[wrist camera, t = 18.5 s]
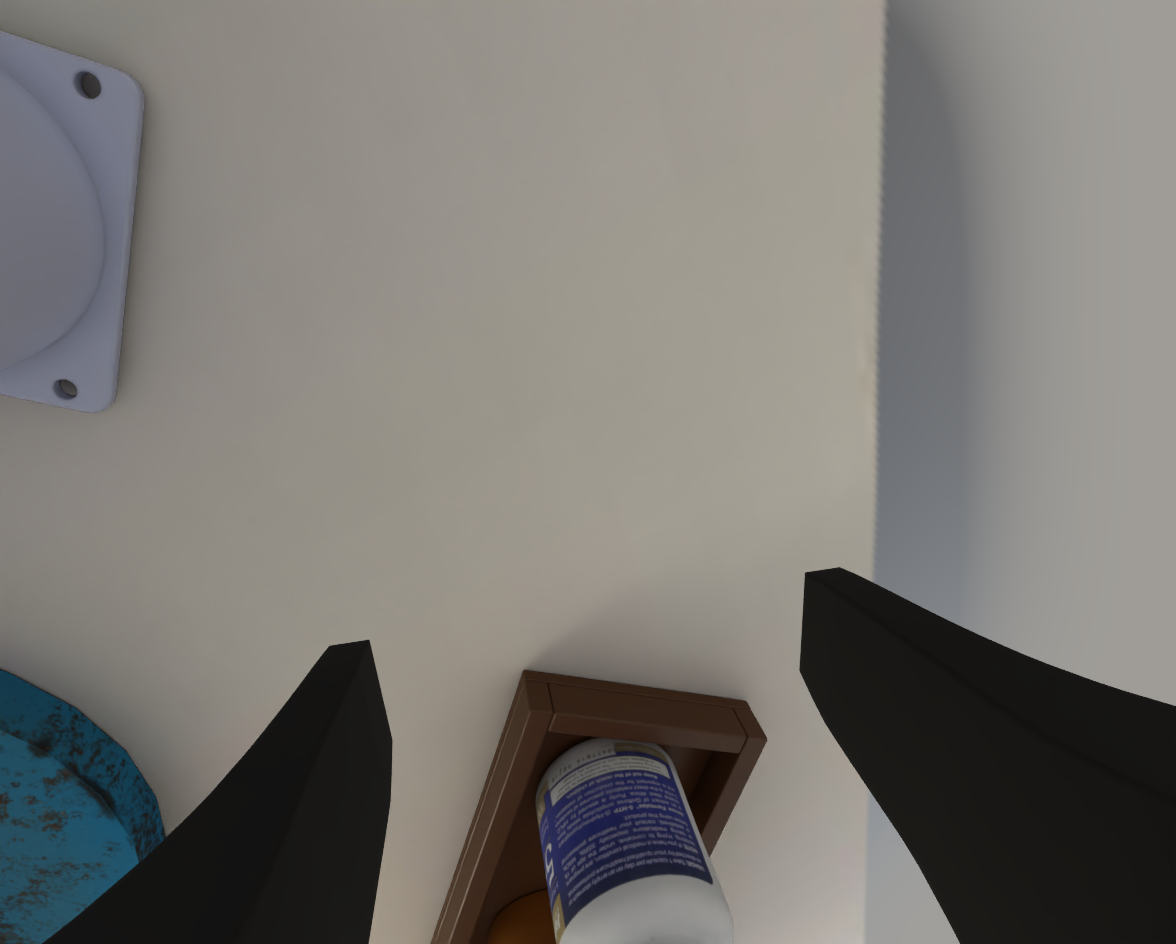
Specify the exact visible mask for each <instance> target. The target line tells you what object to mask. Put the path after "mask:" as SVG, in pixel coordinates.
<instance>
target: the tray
mask: <svg viewBox="0 0 1176 944" xmlns="http://www.w3.org/2000/svg"><path fill="white" fill-rule="evenodd" d="M596 737H601V738H609V739H618V740H627V741H635V742H644V743H653V744H657V745H658V746H659V747H661V748H662V749H663V750H664V751H665V752H666V753H667V754H668V756H669V757H670V759H671V760H672V762H673V764H674V767H675V769H676V772H677V774H678V777H679V780H680V782H681V785H682V788H683V790H684V793H685V796H686V799H687V802H688V804H689V807H690V810H691V812H692V815H693V817H694V820H695V823H696V825H697V828H698V831H699V833H700V836H701V838H702V841H703V844H704V846H705V849H706V851H707V854H708V856H709V857H710V855H711V853H712V851H713V849H714V847H715V845H716V843H717V841H718V839H719V837H720V835H721V833H722V831H723V829H724V827H725V825H726V823H727V821H728V819H729V817H730V815H731V813H732V811H733V809H734V807H735V805H736V803H737V801H738V799H739V797H740V795H741V793H742V790H743V788H744V786H745V784H746V782H747V780H748V778H749V776H750V774H751V772H752V770H753V768H754V766H755V764H756V762H757V760H758V758H759V756H760V754H761V752H762V750H763V748H764V746H765V744H766V742H767V737H766V735H765V734H764V732H763V730H762V728H761V726H760V725H759V723H758V721H757V719H756V718H755V716H754V714H753V712H752V711H751V709H750V707H749V705H748V703H747V702H746V701H742V700H735V699H728V698H721V697H714V696H707V695H700V694H692V693H685V692H678V691H671V690H664V689H657V688H649V687H642V686H635V685H628V684H621V683H614V682H607V681H599V680H592V679H585V678H578V677H571V676H564V675H557V674H549V673H542V672H535V671H528V670H524V671H523V673H522V676H521V679H520V682H519V685H518V688H517V691H516V694H515V697H514V700H513V703H512V706H511V709H510V712H509V715H508V717H507V720H506V723H505V726H504V729H503V732H502V735H501V738H500V741H499V744H498V747H497V750H496V753H495V756H494V759H493V762H492V765H491V768H490V771H489V773H488V776H487V779H486V782H485V785H484V788H483V791H482V794H481V797H480V800H479V803H478V806H477V809H476V812H475V815H474V818H473V821H472V824H471V827H470V829H469V832H468V835H467V838H466V841H465V844H464V847H463V850H462V853H461V856H460V859H459V862H458V865H457V868H456V871H455V874H454V877H453V880H452V883H451V885H450V888H449V891H448V894H447V897H446V900H445V903H444V906H443V909H442V912H441V915H440V918H439V921H438V924H437V927H436V930H435V933H434V936H433V939H432V941H431V944H487V935H488V931H489V928H490V926H491V924H492V922H493V921H494V919H495V918H496V916H497V915H498V914H499V913H500V912H501V911H502V910H503V909H504V908H505V907H506V906H508V905H509V904H511V903H512V902H514V901H515V900H517V899H519V898H521V897H523V896H525V895H528V894H530V893H533V892H537V891H540V890H545V889H548V886H547V880H546V873H545V866H544V859H543V852H542V846H541V840H540V833H539V827H538V820H537V812H536V792H537V788H538V785H539V783H540V780H541V778H542V776H543V775H544V773H545V772H546V770H547V769H548V767H549V766H550V765H551V764H552V763H553V762H554V761H555V760H556V759H557V758H558V757H559V756H560V755H562V754H563V753H564V752H566V751H567V750H569V749H570V748H572V747H574V746H576V745H577V744H579V743H582V742H584V741H587V740H589V739H592V738H596Z"/></svg>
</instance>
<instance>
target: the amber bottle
mask: <svg viewBox="0 0 1176 944" xmlns="http://www.w3.org/2000/svg"><path fill="white" fill-rule="evenodd" d="M487 944H556V938H555V931H554V925H553V919H552V912H551V906H550V899H549V893H548V889H545V890H540V891H537V892H533V893H530V894H528V895H525V896H523V897H521V898H519V899H517V900H515V901H514V902H512V903H511V904H509V905H508V906H506V907H505V908H504V909H503V910H502V911H501V912H500V913H499V914H498V915H497V916H496V918H495V919H494V921H493V922H492V924H491V926H490V928H489V931H488V935H487Z"/></svg>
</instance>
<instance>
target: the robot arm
mask: <svg viewBox="0 0 1176 944" xmlns="http://www.w3.org/2000/svg"><path fill="white" fill-rule="evenodd" d="M88 73H91V74H93V75H95V76H96V78H97V79H98V80H99V82H100V85H101V92H100V94H99V96H98V97H96V98H94V99H92V98H90V97H88V96H87V95H86V94H85V92H84V91H83V90H82V85H81V81H82V79H83V76H85V75H86V74H88ZM144 105H145V101H144V93H143V91H142V89H141V87H140V84H139V83H138V82H137V81H136V80H135V79H134V78H133V77H132V76H131V75H129V74H128V73H126V72H124V71H122V70H119V69H116V68H113V67H110V66H107V65H104V64H101V63H98V62H95V61H92V60H89V59H86V58H83V57H79V56H76V55H73V54H70V53H67V52H64V51H61V50H58V49H55V48H52V47H49V46H46V45H43V44H40V43H37V42H34V41H31V40H28V39H25V38H22V37H19V36H16V35H13V34H10V33H7V32H4V31H0V395H5V396H10V397H15V398H20V399H25V400H29V401H34V402H39V403H44V404H49V405H53V406H58V407H63V408H68V409H73V410H78V411H82V412H87V413H97V412H100V411H103V410H105V409H106V408H107V407H109V406H110V405H111V404H112V403H113V402H114V400H115V397H116V392H117V381H118V371H119V361H120V351H121V340H122V330H123V320H124V310H125V300H126V289H127V279H128V269H129V259H130V248H131V238H132V228H133V218H134V207H135V197H136V187H137V177H138V166H139V156H140V146H141V136H142V125H143V115H144ZM61 379H66V380H68V381H71V382H72V383H73V384H74V385H75V386H76V388H77V395H70V394H68V393H66V392H65V391H64V390H63V389H62V388H61V384H60V381H61ZM800 673H801V675H802V677H803V679H804V681H805V683H806V686H807V688H808V690H809V692H810V694H811V696H812V698H813V700H814V702H815V704H816V706H817V708H818V710H819V712H820V714H821V716H822V718H823V720H824V722H825V724H826V725H827V727H828V728H829V730H830V732H831V733H832V735H833V736H834V738H835V739H836V741H837V742H838V744H839V745H840V747H841V748H842V750H843V751H844V753H845V754H846V756H847V757H848V759H849V760H850V762H851V764H852V765H853V766H854V768H855V769H856V771H857V772H858V774H859V775H860V777H861V778H862V780H863V781H864V783H865V784H866V786H867V787H868V789H869V790H870V792H871V793H872V795H873V796H874V798H875V799H876V801H877V802H878V803H879V805H880V806H881V808H882V810H883V811H884V813H885V814H886V816H887V817H888V818H889V820H890V821H891V823H892V824H893V826H894V827H895V829H896V830H897V832H898V833H899V835H900V836H901V838H902V839H903V841H904V843H905V844H906V846H907V847H908V849H909V851H910V852H911V854H912V856H913V857H914V859H915V861H916V862H917V864H918V866H919V867H920V869H921V871H922V873H923V875H924V877H925V878H926V880H927V882H928V884H929V886H930V888H931V889H932V891H933V893H934V895H935V897H936V899H937V901H938V902H939V904H940V906H941V908H942V910H943V912H944V914H945V915H946V917H947V919H948V921H949V923H950V925H951V927H952V929H953V931H954V932H955V934H956V936H957V938H958V940H959V942H960V944H1176V706H1173V705H1170V704H1167V703H1163V702H1160V701H1157V700H1153V699H1150V698H1146V697H1143V696H1139V695H1136V694H1133V693H1129V692H1126V691H1123V690H1120V689H1117V688H1114V687H1111V686H1107V685H1105V684H1101V683H1098V682H1096V681H1093V680H1090V679H1087V678H1084V677H1082V676H1079V675H1076V674H1074V673H1071V672H1068V671H1065V670H1062V669H1060V668H1057V667H1054V666H1051V665H1049V664H1046V663H1044V662H1041V661H1039V660H1036V659H1034V658H1031V657H1029V656H1026V655H1024V654H1021V653H1019V652H1017V651H1014V650H1012V649H1010V648H1007V647H1005V646H1003V645H1001V644H998V643H996V642H994V641H992V640H989V639H987V638H985V637H982V636H980V635H978V634H976V633H974V632H972V631H969V630H967V629H965V628H963V627H961V626H958V625H957V624H955V623H953V622H950V621H948V620H946V619H944V618H942V617H940V616H938V615H936V614H934V613H932V612H930V611H928V610H926V609H924V608H922V607H920V606H918V605H916V604H914V603H912V602H910V601H908V600H906V599H904V598H902V597H900V596H898V595H896V594H895V593H893V592H891V591H888V590H887V589H885V588H882V587H881V586H879V585H877V584H875V583H873V582H871V581H869V580H867V579H865V578H862V577H860V576H858V575H856V574H854V573H852V572H849V571H847V570H845V569H842V568H840V567H838V568H832V569H825V570H819V571H812V572H806V573H805V585H804V602H803V620H802V637H801V654H800ZM391 777H392V736H391V732H390V728H389V723H388V719H387V715H386V710H385V706H384V702H383V697H382V693H381V688H380V684H379V680H378V675H377V671H376V667H375V662H374V658H373V654H372V649H371V645H370V641H369V640H364V641H358V642H351V643H345V644H338V645H332V646H329V647H328V648H327V650H326V651H325V652H324V653H323V654H322V656H321V657H320V658H319V660H318V661H317V662H316V664H315V665H314V666H313V668H312V669H311V670H310V672H309V673H308V674H307V676H306V677H305V678H304V680H303V681H302V682H301V684H300V685H299V686H298V688H297V689H296V690H295V692H294V693H293V694H292V696H291V697H290V698H289V700H288V701H287V702H286V704H285V705H284V706H283V707H282V709H281V710H280V711H279V713H278V714H277V715H276V716H275V718H274V719H273V720H272V721H271V723H270V724H269V725H268V726H267V728H266V729H265V730H264V731H263V733H262V734H261V735H260V736H259V738H258V739H257V740H256V741H255V743H254V744H253V745H252V746H251V748H250V749H249V750H248V751H247V752H246V753H245V755H244V756H243V757H242V758H241V759H240V760H239V761H238V763H237V764H236V765H235V766H234V767H233V768H232V769H231V771H230V772H229V773H228V774H227V775H226V776H225V777H224V779H223V780H222V781H221V782H220V783H219V784H218V785H217V787H216V788H215V789H214V790H213V791H212V792H211V793H210V794H209V795H208V796H207V797H206V799H205V800H204V801H203V802H202V803H201V804H200V805H199V806H198V807H197V808H196V809H195V810H194V811H193V812H192V813H191V814H190V815H189V816H188V817H187V818H186V819H185V820H184V821H183V822H182V823H181V824H180V825H179V826H178V827H177V828H176V829H175V830H174V831H172V832H171V833H170V834H169V835H168V836H167V837H166V838H165V839H164V840H163V841H162V842H161V843H160V844H159V845H158V846H157V847H156V848H155V849H154V850H153V851H152V852H150V853H149V854H148V855H147V856H146V857H145V858H144V859H143V860H142V861H140V862H139V863H138V864H137V865H136V866H135V867H133V868H132V869H131V870H130V871H129V872H128V873H127V874H125V875H124V876H123V877H122V878H121V879H120V880H118V881H117V882H116V883H115V884H114V885H113V886H111V887H110V888H109V889H108V890H107V891H106V892H104V893H103V894H102V895H101V896H100V897H99V898H97V899H96V900H95V901H94V902H93V903H92V904H90V905H89V906H88V907H87V908H86V909H85V910H83V911H82V912H81V913H80V914H79V915H77V916H76V917H75V918H74V919H73V920H71V921H70V922H69V923H68V924H66V925H65V926H64V927H62V928H61V929H60V930H59V931H57V932H56V933H55V934H53V935H52V936H51V937H50V938H48V939H47V940H46V941H45V942H43V943H42V944H369V937H370V931H371V925H372V918H373V912H374V906H375V899H376V893H377V887H378V880H379V874H380V868H381V861H382V855H383V848H384V842H385V835H386V829H387V822H388V815H389V809H390V802H391Z"/></svg>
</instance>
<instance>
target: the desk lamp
mask: <svg viewBox="0 0 1176 944" xmlns="http://www.w3.org/2000/svg"><path fill="white" fill-rule="evenodd" d="M165 838H166V837H165V833H164V828H163V824H162V820H161V816H160V812H159V807H158V803H157V799H156V796H155V795H154V793H153V792H152V790H151V789H150V787H149V786H148V784H147V783H146V781H145V780H144V778H143V777H142V775H141V774H140V772H139V771H138V769H137V768H136V766H135V765H134V763H133V761H132V760H131V758H130V757H129V755H128V754H127V752H126V751H125V750H124V749H123V748H121V747H120V746H119V745H118V744H117V743H116V742H114V741H113V740H112V739H111V738H110V737H109V736H107V735H106V734H105V733H104V732H103V731H102V730H100V729H99V728H98V727H97V726H96V725H95V724H93V723H92V722H91V721H90V720H89V719H88V718H86V717H85V716H84V715H83V714H82V713H81V712H79V711H78V710H77V709H76V708H74V707H72V706H70V705H68V704H66V703H65V702H63V701H61V700H59V699H57V698H55V697H53V696H51V695H49V694H48V693H46V692H44V691H42V690H40V689H38V688H36V687H34V686H32V685H31V684H29V683H27V682H25V681H23V680H21V679H19V678H17V677H15V676H13V675H12V674H10V673H8V672H5V671H1V670H0V944H42V943H43V942H45V941H46V940H47V939H48V938H50V937H51V936H52V935H53V934H55V933H56V932H57V931H59V930H60V929H61V928H62V927H64V926H65V925H66V924H68V923H69V922H70V921H71V920H73V919H74V918H75V917H76V916H77V915H79V914H80V913H81V912H82V911H83V910H85V909H86V908H87V907H88V906H89V905H90V904H92V903H93V902H94V901H95V900H96V899H97V898H99V897H100V896H101V895H102V894H103V893H104V892H106V891H107V890H108V889H109V888H110V887H111V886H113V885H114V884H115V883H116V882H117V881H118V880H120V879H121V878H122V877H123V876H124V875H125V874H127V873H128V872H129V871H130V870H131V869H132V868H133V867H135V866H136V865H137V864H138V863H139V862H140V861H142V860H143V859H144V858H145V857H146V856H147V855H148V854H149V853H150V852H152V851H153V850H154V849H155V848H156V847H157V846H158V845H159V844H160V843H161V842H162V841H163V840H164V839H165Z"/></svg>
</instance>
